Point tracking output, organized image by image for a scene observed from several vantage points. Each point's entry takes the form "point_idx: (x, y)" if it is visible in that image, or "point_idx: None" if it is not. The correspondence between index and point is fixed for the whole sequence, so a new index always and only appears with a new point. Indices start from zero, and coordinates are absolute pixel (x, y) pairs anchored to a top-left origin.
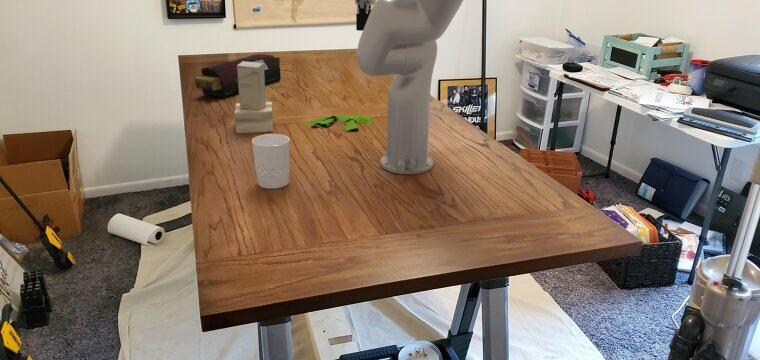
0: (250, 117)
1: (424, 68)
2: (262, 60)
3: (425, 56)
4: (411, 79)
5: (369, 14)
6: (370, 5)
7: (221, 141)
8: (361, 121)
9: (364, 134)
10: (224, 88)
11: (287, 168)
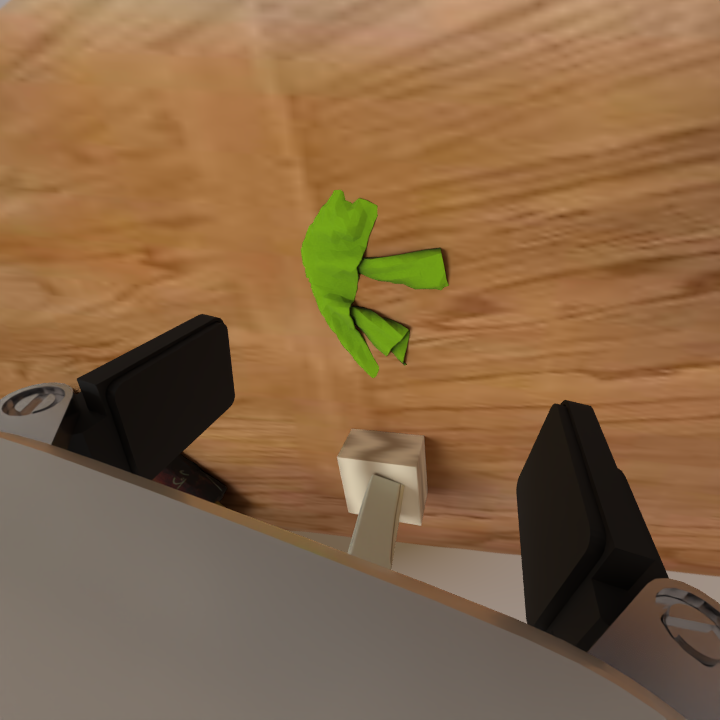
0: (421, 493)
1: None
2: None
3: None
4: None
5: (157, 379)
6: (57, 435)
7: (476, 516)
8: (362, 234)
9: (476, 233)
10: (215, 497)
11: None
